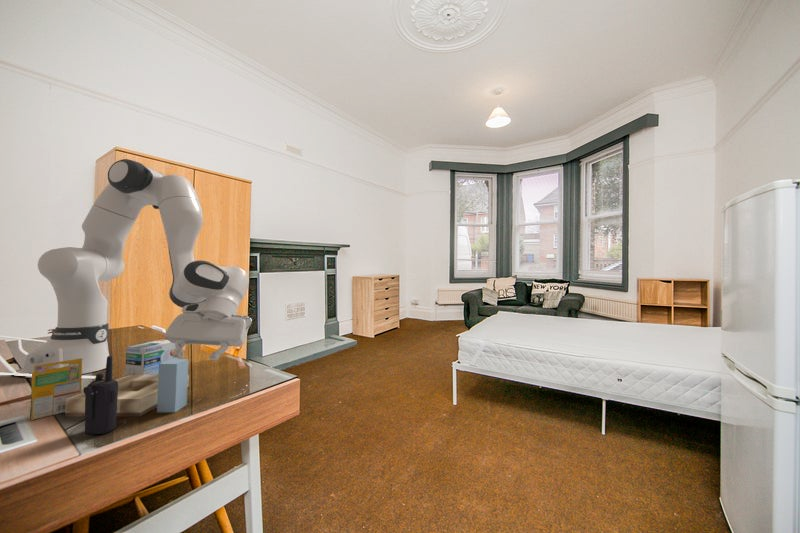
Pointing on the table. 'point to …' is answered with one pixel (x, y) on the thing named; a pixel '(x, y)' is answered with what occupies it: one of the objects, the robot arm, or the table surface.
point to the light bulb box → (148, 357)
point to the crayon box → (54, 387)
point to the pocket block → (124, 397)
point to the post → (172, 385)
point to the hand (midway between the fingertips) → (195, 358)
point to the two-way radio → (101, 402)
